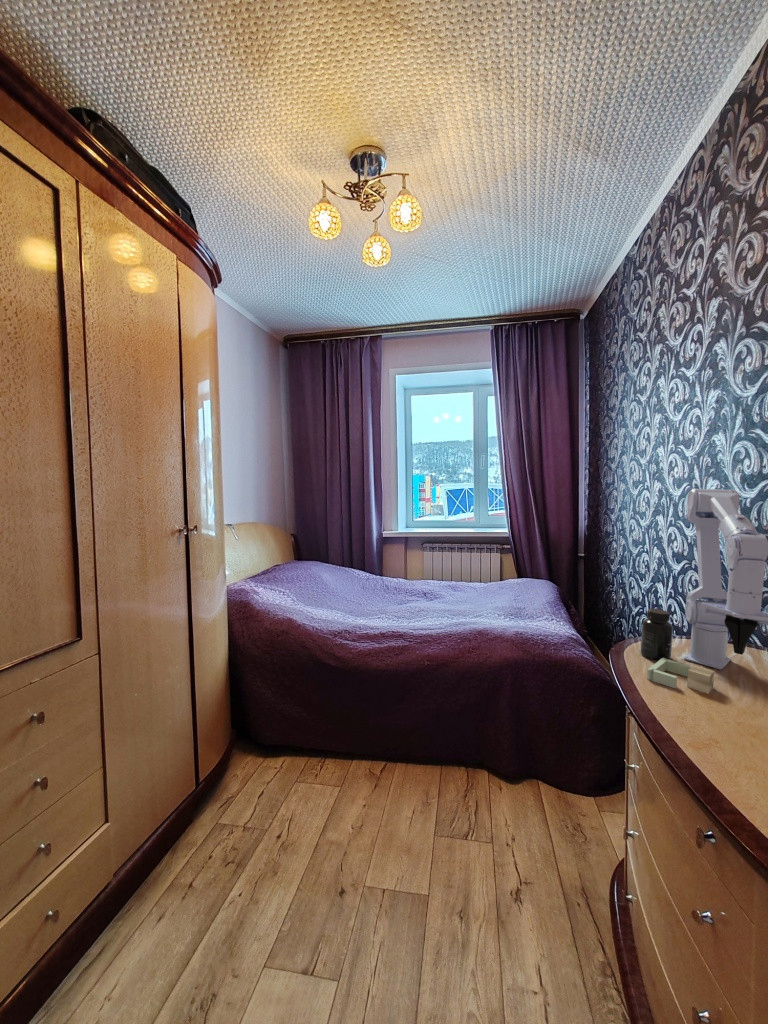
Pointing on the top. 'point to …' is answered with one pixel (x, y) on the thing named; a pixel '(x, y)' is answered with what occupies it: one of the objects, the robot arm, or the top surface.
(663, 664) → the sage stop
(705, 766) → the top surface
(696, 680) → the birch block
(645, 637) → the supplement bottle
